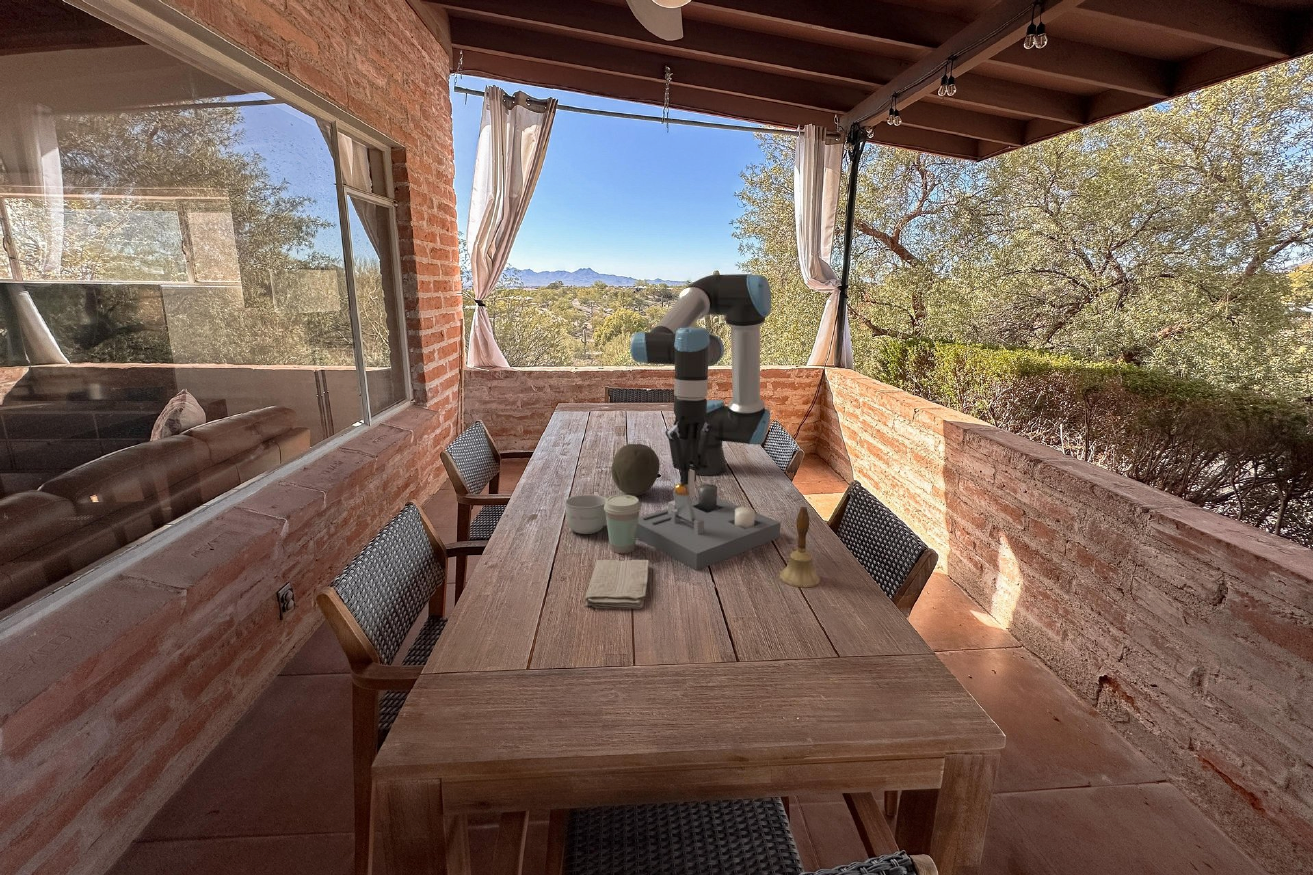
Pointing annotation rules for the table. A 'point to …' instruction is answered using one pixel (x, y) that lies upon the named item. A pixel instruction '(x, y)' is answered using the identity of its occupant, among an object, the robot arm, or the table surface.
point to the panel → (704, 534)
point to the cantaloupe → (635, 469)
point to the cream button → (744, 517)
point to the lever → (684, 504)
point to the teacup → (585, 513)
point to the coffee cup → (622, 522)
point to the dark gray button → (707, 497)
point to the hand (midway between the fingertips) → (687, 496)
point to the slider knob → (671, 506)
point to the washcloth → (618, 584)
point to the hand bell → (800, 558)
